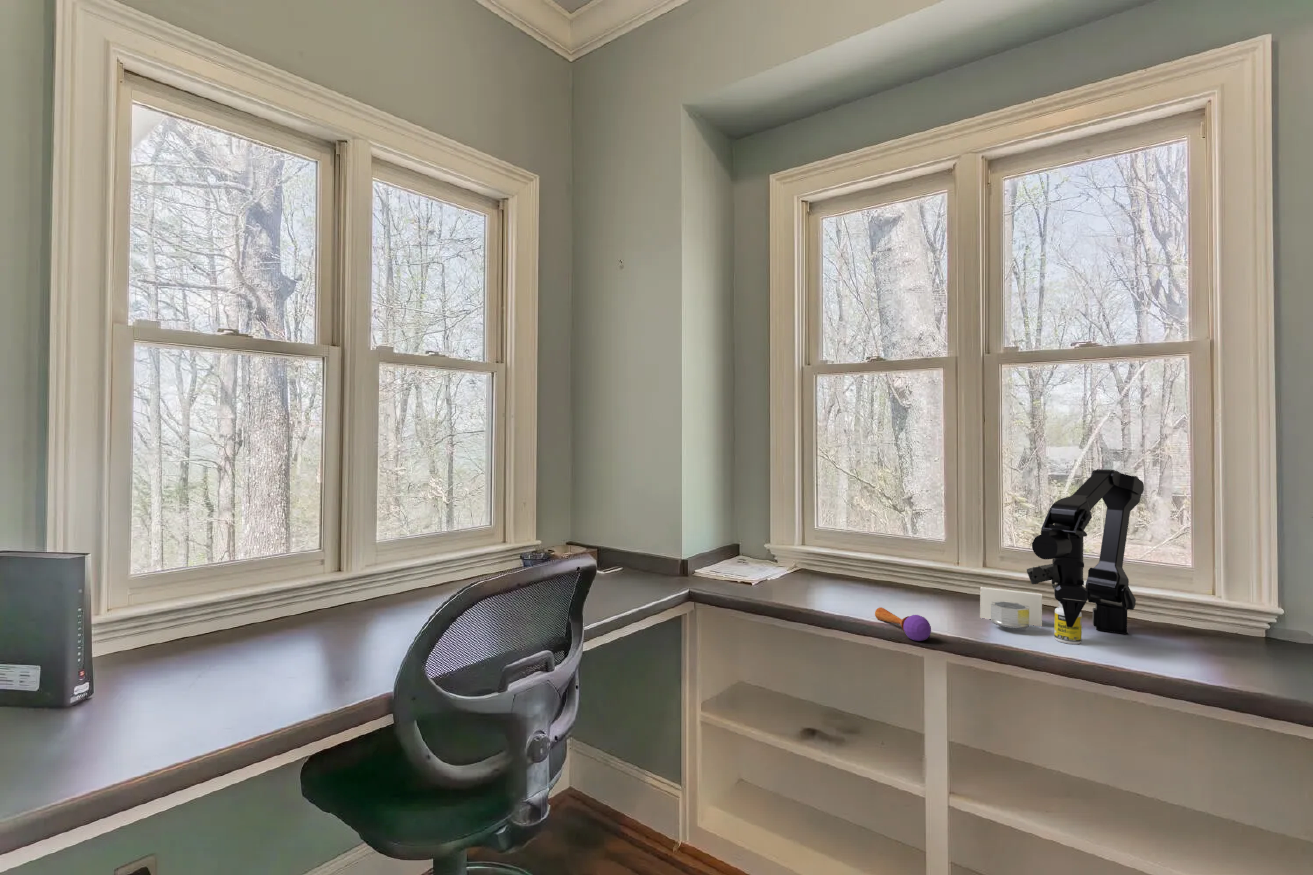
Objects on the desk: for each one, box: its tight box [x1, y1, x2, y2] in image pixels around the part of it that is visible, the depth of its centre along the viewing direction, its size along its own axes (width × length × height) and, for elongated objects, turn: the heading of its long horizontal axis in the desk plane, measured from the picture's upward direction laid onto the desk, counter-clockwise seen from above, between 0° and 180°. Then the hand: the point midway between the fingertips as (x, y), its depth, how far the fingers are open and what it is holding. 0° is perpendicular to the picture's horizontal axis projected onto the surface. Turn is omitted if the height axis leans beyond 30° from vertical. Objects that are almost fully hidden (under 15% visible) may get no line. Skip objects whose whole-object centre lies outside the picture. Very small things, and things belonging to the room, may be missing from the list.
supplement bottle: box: [1053, 600, 1083, 645], centre depth 147 cm, size 5×5×10 cm
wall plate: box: [979, 586, 1043, 627], centre depth 163 cm, size 14×2×8 cm, turn 60°
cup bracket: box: [990, 601, 1030, 629], centre depth 157 cm, size 8×11×4 cm
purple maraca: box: [874, 607, 932, 642], centre depth 154 cm, size 6×6×20 cm
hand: (1068, 621), depth 147 cm, fingers open, 9 cm apart
